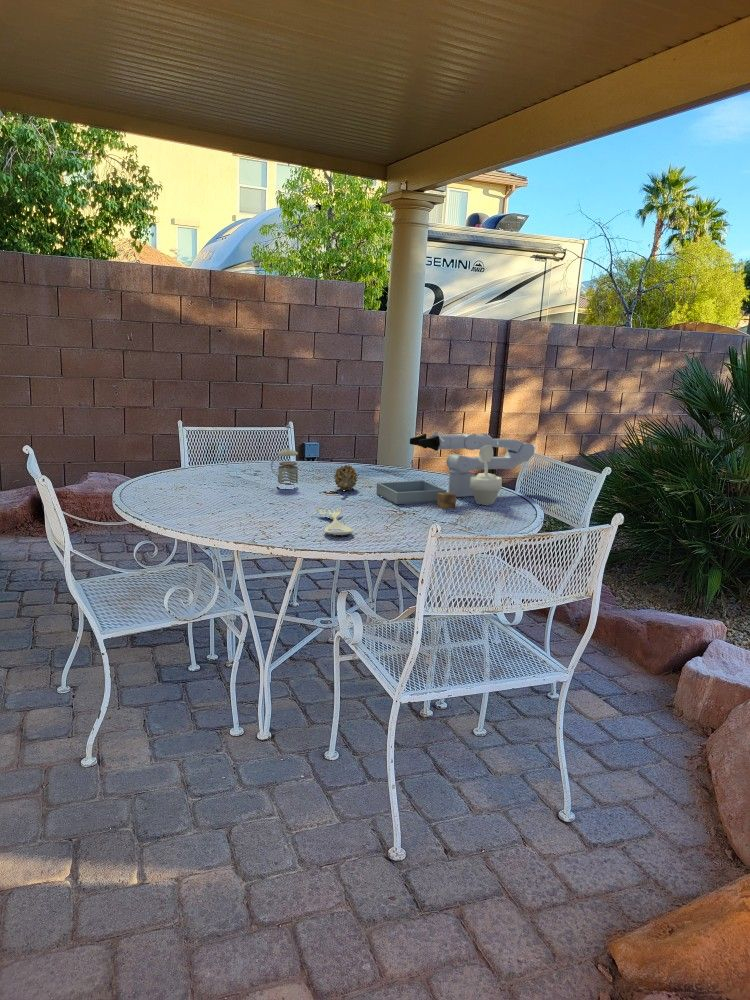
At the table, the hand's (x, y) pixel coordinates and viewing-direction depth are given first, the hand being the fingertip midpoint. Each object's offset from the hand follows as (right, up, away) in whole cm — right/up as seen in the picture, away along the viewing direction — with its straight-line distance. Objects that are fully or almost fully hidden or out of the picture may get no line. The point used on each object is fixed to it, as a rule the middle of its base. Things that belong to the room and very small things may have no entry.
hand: (414, 442), depth 272 cm
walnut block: (+11, -24, -9) cm, 28 cm away
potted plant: (+26, -23, -1) cm, 35 cm away
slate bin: (-1, -21, +5) cm, 21 cm away
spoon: (-28, -30, -40) cm, 57 cm away
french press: (-50, -17, +21) cm, 57 cm away
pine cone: (-26, -19, +14) cm, 35 cm away
